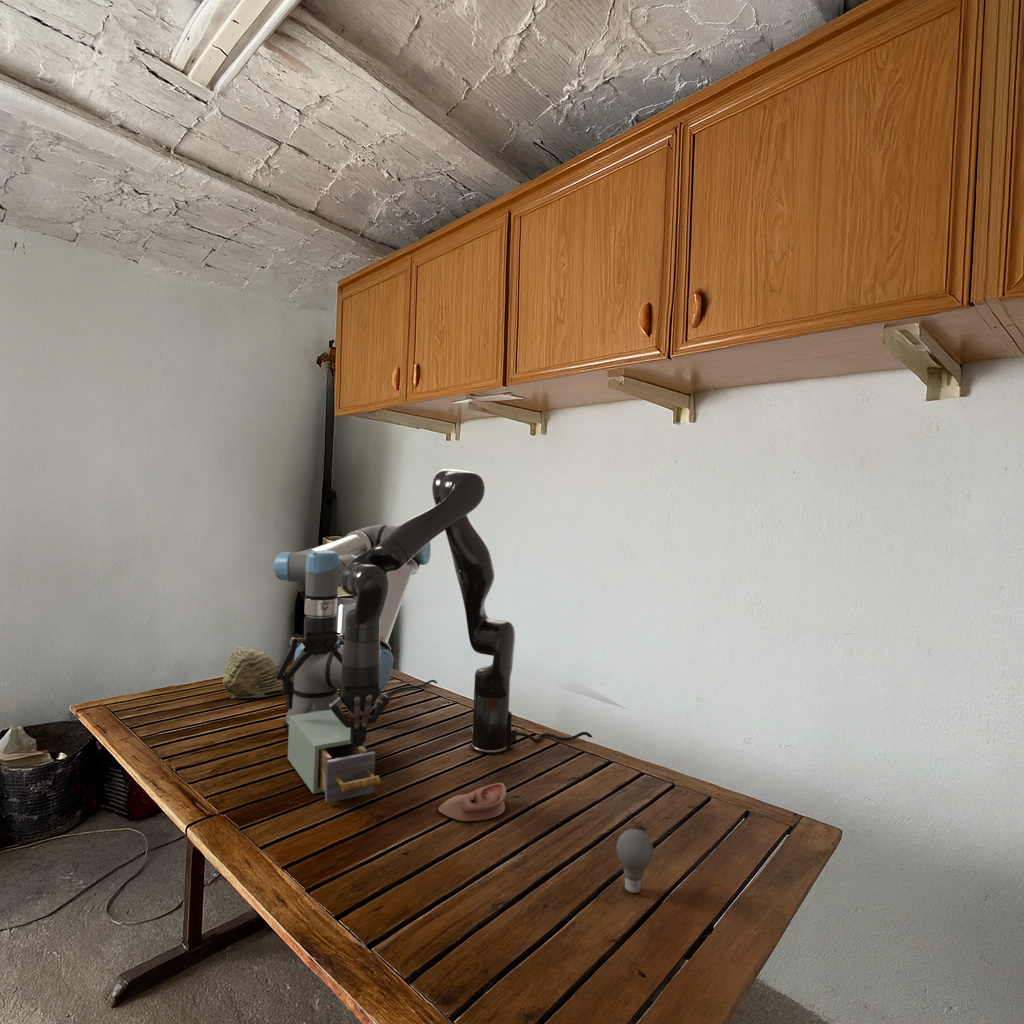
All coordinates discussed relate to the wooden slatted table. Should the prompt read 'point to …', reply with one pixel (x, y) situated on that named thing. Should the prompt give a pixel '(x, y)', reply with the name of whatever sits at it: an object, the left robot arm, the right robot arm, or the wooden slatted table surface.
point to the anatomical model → (476, 804)
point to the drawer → (346, 772)
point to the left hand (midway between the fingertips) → (318, 703)
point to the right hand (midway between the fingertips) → (357, 745)
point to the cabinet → (314, 742)
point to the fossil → (251, 674)
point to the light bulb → (634, 857)
